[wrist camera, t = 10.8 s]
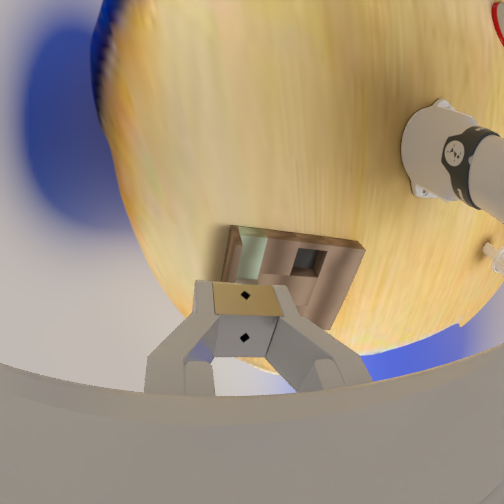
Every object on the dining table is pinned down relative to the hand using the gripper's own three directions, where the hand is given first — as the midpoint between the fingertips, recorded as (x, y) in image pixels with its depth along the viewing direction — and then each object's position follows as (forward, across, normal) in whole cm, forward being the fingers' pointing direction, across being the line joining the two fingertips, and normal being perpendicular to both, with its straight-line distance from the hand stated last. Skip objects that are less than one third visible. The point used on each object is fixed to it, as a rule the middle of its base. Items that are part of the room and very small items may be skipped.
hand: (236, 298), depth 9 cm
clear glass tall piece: (+31, -70, +8) cm, 77 cm away
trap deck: (+31, -16, +20) cm, 40 cm away
